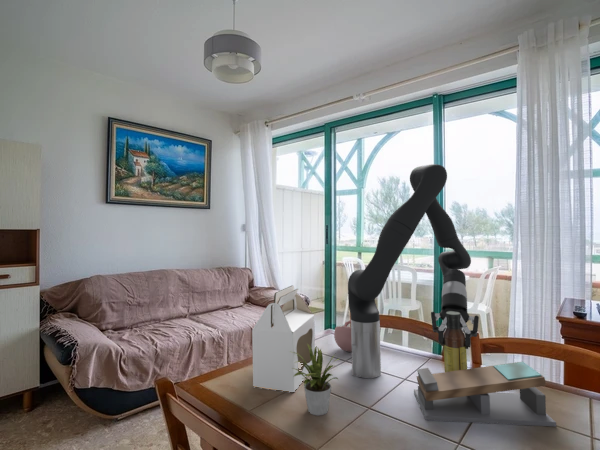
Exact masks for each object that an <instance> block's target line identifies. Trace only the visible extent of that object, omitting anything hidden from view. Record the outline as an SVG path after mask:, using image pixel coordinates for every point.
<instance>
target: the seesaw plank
mask: <svg viewBox="0 0 600 450" xmlns="http://www.w3.org/2000/svg"><path fill="white" fill-rule="evenodd" d="M416 379H417V380H416V381H417V386H419V387H420V389H421V391H422V393H423V395H424V397H425V399H426V401H432V400H440V399H448V398H455V397H463V396H471V395H479V394H486V393H494V392H496V393H503V392H510V391H515V390H520V389H525V388H533V387H536V388H538V387H546V386H547V383H546V382H547V381H546V378H545V376H543V375H542V374H541V373H539V371H537V370H536V369H534V368H533V367H532V366H530V365H529V364H527V363H526V362H525V361H517V362H516V361H515V362H509V363H502V364H501V363H500V364H495V365H487V366H482V367H481V366H480V367H474V368H467V369H465V370H457V371H450V372H445V371H443V372H437V373H432V372H431V370H430V368H429V367H425V368H424V367H423V368H417V376H416Z"/></svg>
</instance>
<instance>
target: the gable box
mask: <svg viewBox="0 0 600 450" xmlns="http://www.w3.org/2000/svg"><path fill="white" fill-rule="evenodd" d="M298 290H299V288H296V289H295V286H294V285H290V286H287V287H284V288H282V289H280V290H278V291H276V292H275V293H274V296H273V302H271V303H269V304H268V305H267V306H266V308H265V310H264V311H263V312H262V314H261V316H260V317H259V319H258V320H257V322H256V324H255V325H254V327H253V328H252V329H251V332H252V335H251V337H252V338H251V339H252V343H251V344H252V346H251V347H252V387H253V386H257V387H265V388H272V389H277V390H283V391H289V392H288V393H290V392H294V393H295V392H296V391H297V390H298V389H299V388H300V386H301V385H302V383H303V382H304V381H305V380H306V378H307V376H305V377H306V378H305V377H304V376H302V375H301V374H300V375H297V376H294V375H295V374H296V373H298V371H297V370H296V369H298V370H302V371H300V372H303V373H305V374H309V372H308V370H307V369H306V368H305V366H304V365H305V364H304V363H305V362H306V363H307V365H308V366H310V365H312V361H311V358H310V352H309V348H308V345H309V346H310V347H311V348H312V351H313V355H314V350H315V347H316V340H315V339H316V336H315V327H316V326H315V314H314V313H313V312H312V311H311V309H310V307H309V306H308V305H307V303H306V302H305V300H304V299H303V297H302V296H301V295H300V294H299V293H297V292H298ZM307 344H308V345H307ZM293 352H295V353H293ZM296 353H297V354H296ZM298 354H299V355H300V356H301V357H302V358H303V359H304V360H305V362H304V360H303V359H302V358H301V357H300V356H299V355H298ZM297 355H298V356H297ZM297 361H301V362H300V363H303V362H304V363H303V364H304V365H303V366H302V367H301V369H299V368H298V362H297ZM301 365H302V364H301ZM293 368H295V369H293ZM307 368H308V367H307ZM309 371H310V370H309ZM305 374H303V375H305ZM293 376H294V377H293ZM302 378H304V379H302ZM302 381H303V382H302ZM299 385H300V386H299ZM296 389H297V390H296ZM295 390H296V391H295ZM283 391H282V392H283Z"/></svg>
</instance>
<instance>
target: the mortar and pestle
mask: <svg viewBox="0 0 600 450" xmlns="http://www.w3.org/2000/svg"><path fill="white" fill-rule="evenodd" d="M348 325H351V319H350V320H348V321H345V323H344V325H342V326H341V325H340V326H339V325H337V326H336V327H335V328H334V332H333V335H334V336H333V337H334V341H335V344H336V345H337V346H338V347H339V348H340V350H341V351H344V352H347V353H352V345H351V340H352V339H351V326H348Z"/></svg>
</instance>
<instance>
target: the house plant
mask: <svg viewBox="0 0 600 450" xmlns="http://www.w3.org/2000/svg"><path fill="white" fill-rule="evenodd" d="M307 345H308V344H307ZM308 348H309V352H310V358H311V361H312V365H310V366H308V365H307V363H306V362H305V360H304V359H303V358H302V357H301V356H300V355H299V354H298V355H299V356H300V357H301V358H302V359H303V360H304V362H305V363H304V362H303V363H304V364H305V365H304V364H302V365H304V366H305V368H306V369H307V370H308V372H309V374H305V373H303V372H300V371H299V370H298V369H296V370H297V371H298V373H296V374H295V375H294V376H297V375H300V374H301V375H302V376H304V377H305V376H306V377H305V379H304V378H302V379H304V380H303V382H304V384H303V388H304V394H305V400H306V405H307V411H308V413H309V412H310V413H309V414H310V415H313V416H323V415H326V414H327V413H328V412H329V407H330V398H331V392H332V385H331V383H330V381H331V380H332V381H333V379H335V380H338V381H339V378H338V377H332V378H330V379H329V377H331V376H333V374H332V373H328V371H329V370H330V369H331V368H333V367H334V365H333V364H331V361H332V360H333V358H335V357H334V356H335V355H336V354H337V353H336V352H335V354H334V355H333V356H332V357H331V358H330V360H329V362H328V363H327V364H326V366H325V368H324V370H323V361H324V360H323V359H324V358H323V357H324V356H323V351H322V348H320V349H319V348H318V347H317V346H316V345H315V350H314V355H313V351H312V348H311V347H310V346H309V345H308ZM293 353H295V352H293ZM296 354H297V353H296ZM298 355H297V356H298ZM338 360H339V358H337V359H335V360H334V362H336V361H338ZM297 362H301V361H297ZM329 364H330V365H329ZM307 367H308V368H307ZM293 369H295V368H293ZM309 370H310V371H309ZM322 370H323V373H322ZM303 374H305V375H303ZM294 376H293V377H294ZM328 379H329V380H328Z"/></svg>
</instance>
